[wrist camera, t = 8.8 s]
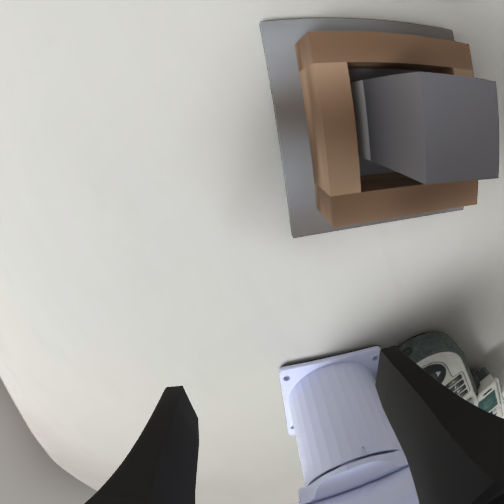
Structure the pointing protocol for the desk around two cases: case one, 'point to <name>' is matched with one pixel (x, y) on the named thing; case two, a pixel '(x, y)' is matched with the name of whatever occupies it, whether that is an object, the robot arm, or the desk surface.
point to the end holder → (350, 119)
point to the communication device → (455, 370)
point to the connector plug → (429, 125)
